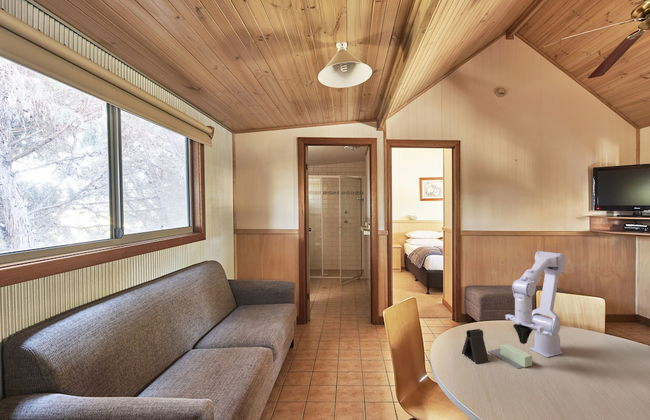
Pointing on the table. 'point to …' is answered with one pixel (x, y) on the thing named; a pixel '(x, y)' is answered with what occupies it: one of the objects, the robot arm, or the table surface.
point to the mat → (497, 354)
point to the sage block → (516, 355)
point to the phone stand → (475, 346)
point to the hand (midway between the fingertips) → (523, 342)
